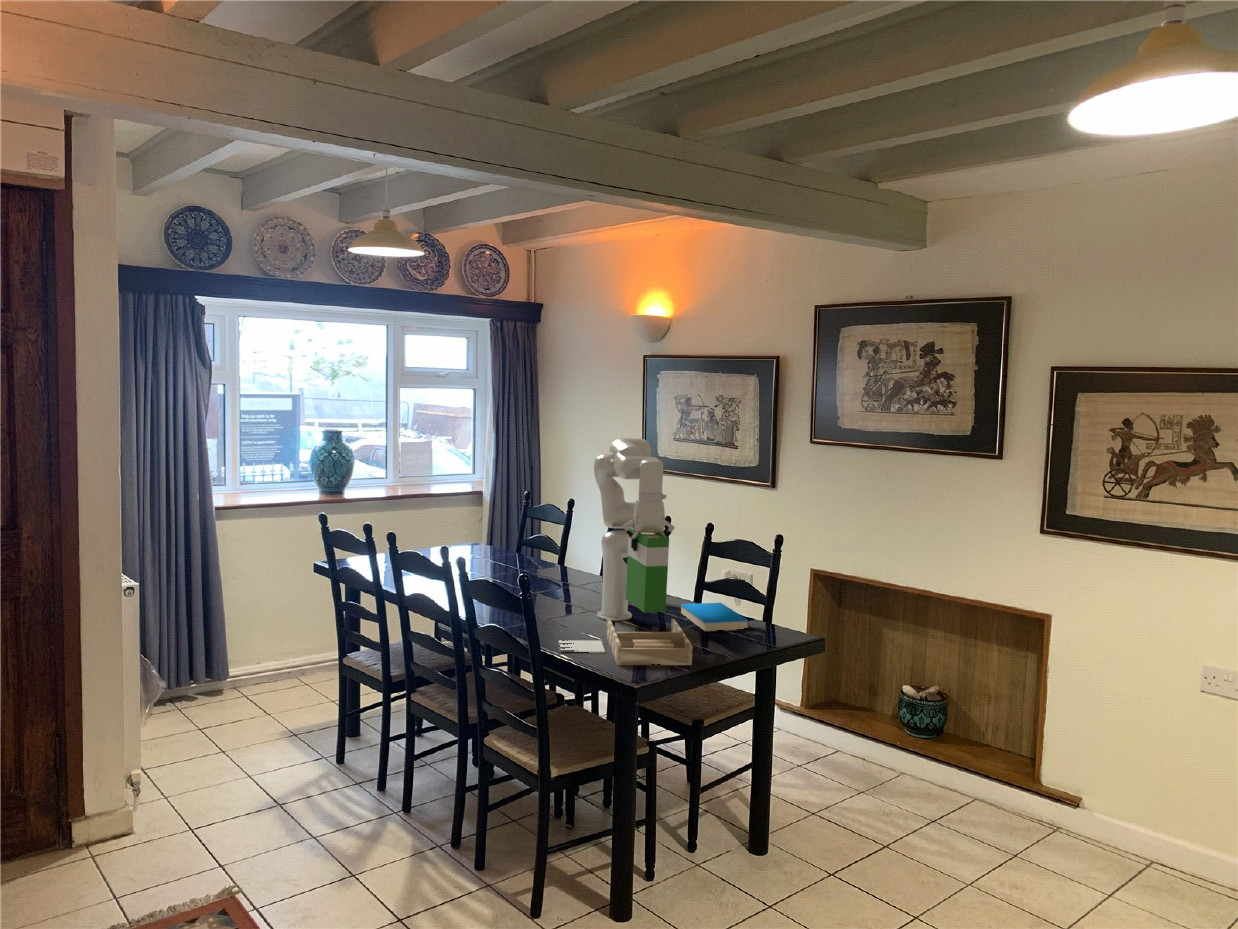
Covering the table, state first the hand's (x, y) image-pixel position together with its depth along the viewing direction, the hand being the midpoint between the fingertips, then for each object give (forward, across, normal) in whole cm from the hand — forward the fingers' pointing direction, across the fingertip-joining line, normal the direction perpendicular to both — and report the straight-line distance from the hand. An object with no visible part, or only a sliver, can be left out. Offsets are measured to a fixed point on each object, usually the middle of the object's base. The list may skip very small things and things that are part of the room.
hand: (647, 550), depth 294 cm
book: (+32, -30, -28) cm, 52 cm away
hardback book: (+18, 0, 0) cm, 18 cm away
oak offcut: (+28, 0, +17) cm, 33 cm away
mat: (+31, +21, +5) cm, 38 cm away
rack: (+31, 0, +7) cm, 32 cm away
